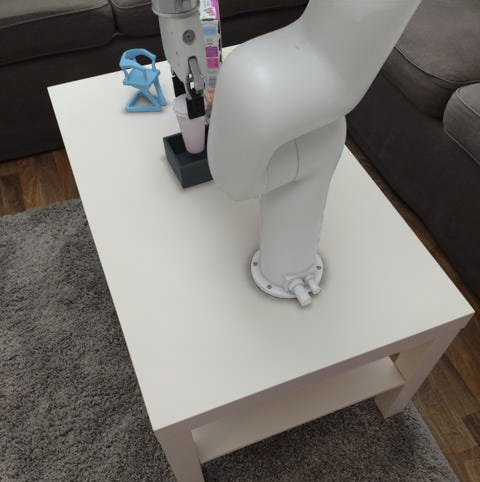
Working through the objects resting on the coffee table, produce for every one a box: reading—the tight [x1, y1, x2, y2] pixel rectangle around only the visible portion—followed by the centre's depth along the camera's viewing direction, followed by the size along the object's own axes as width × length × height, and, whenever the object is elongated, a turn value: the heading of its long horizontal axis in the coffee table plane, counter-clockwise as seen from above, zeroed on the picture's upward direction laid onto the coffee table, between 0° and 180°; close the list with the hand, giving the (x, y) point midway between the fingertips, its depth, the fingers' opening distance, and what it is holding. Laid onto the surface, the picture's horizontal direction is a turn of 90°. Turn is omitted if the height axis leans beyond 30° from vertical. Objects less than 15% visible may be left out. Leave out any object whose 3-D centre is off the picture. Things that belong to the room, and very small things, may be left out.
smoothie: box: [171, 77, 207, 153], centre depth 83 cm, size 6×6×14 cm
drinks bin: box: [161, 123, 214, 190], centre depth 91 cm, size 11×11×5 cm
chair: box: [119, 48, 167, 113], centre depth 100 cm, size 8×8×12 cm
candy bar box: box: [198, 0, 223, 90], centre depth 103 cm, size 11×5×16 cm, turn 3°
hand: (190, 105), depth 82 cm, fingers closed on smoothie, 6 cm apart
